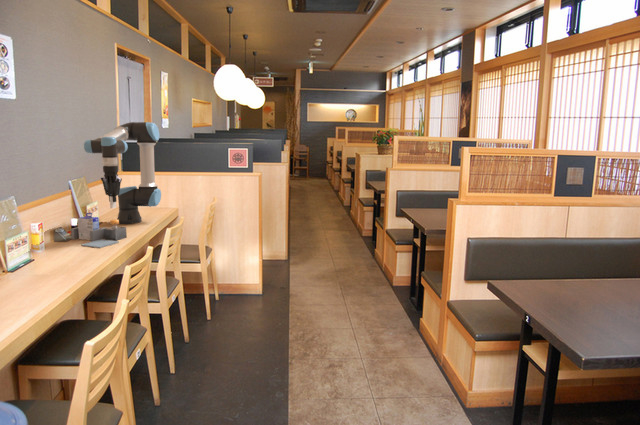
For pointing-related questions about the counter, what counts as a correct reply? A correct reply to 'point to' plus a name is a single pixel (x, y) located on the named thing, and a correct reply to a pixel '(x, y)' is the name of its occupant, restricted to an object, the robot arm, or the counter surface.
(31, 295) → the counter surface
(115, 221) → the plunger
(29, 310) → the counter surface
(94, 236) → the cartridge holder
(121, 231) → the block
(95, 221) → the ink cartridge box
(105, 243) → the rubber mat
